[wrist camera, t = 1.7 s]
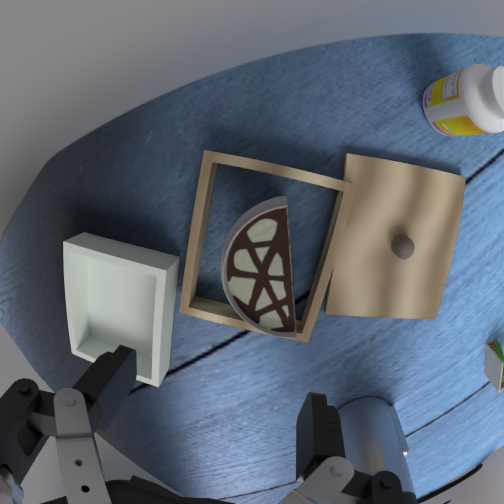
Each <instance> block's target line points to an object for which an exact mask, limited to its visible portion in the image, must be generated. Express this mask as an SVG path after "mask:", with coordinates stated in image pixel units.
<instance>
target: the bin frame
mask: <svg viewBox="0 0 504 504" xmlns="http://www.w3.org/2000/svg"><path fill="white" fill-rule="evenodd" d="M218 163H221V164H226V165H231V166H236V167H241V168H246V169H251V170H256V171H261V172H265V173H270V174H274V175H279V176H283V177H287V178H292V179H296V180H300V181H304V182H308V183H312V184H316V185H320V186H324V187H328V188H332V189H335V190H338V194H337V198H336V202H335V206H334V209H333V213H332V217H331V221H330V225H329V228H328V232H327V236H326V239H325V243H324V247H323V250H322V254H321V257H320V261H319V264H318V267H317V271H316V274H315V278H314V281H313V284H312V287H311V291H310V294H309V297H308V300H307V304H306V307H305V310H304V313H303V316H302V319H301V321H300V320H296V338H287V339H292V340H297V341H302V342H307V343H308V341H309V338H310V336H311V333H312V330H313V327H314V324H315V322H316V319H317V316H318V313H319V310H320V307H321V304H322V301H323V298H324V295H325V292H326V289H327V286H328V282H329V279H330V276H331V273H332V270H333V266H334V263H335V260H336V257H337V253H338V250H339V246H340V243H341V239H342V236H343V232H344V229H345V225H346V222H347V218H348V214H349V210H350V207H351V203H352V199H353V195H354V191H355V187H356V184H353V183H350V182H346V181H343V180H339V179H336V178H332V177H328V176H324V175H320V174H316V173H312V172H308V171H304V170H300V169H296V168H292V167H288V166H283V165H279V164H274V163H270V162H265V161H261V160H256V159H251V158H246V157H241V156H236V155H230V154H225V153H220V152H214V151H207V150H204V155H203V160H202V165H201V171H200V176H199V182H198V187H197V193H196V199H195V205H194V211H193V217H192V223H191V229H190V236H189V242H188V249H187V256H186V263H185V271H184V278H183V286H182V294H181V303H180V312H179V313H183V314H187V315H190V316H194V317H198V318H202V319H205V320H209V321H213V322H217V323H221V324H225V325H229V326H233V327H238V328H242V329H246V330H250V331H255V332H259V333H264V332H261V331H259V330H257V329H256V328H254V327H252V326H251V325H249V324H248V323H247V322H246V321H245V320H243V319H242V318H241V317H240V316H239V314H238V313H237V312H236V311H235V310H234V308H233V307H232V305H229V304H225V303H221V302H217V301H213V300H209V299H205V298H201V297H197V296H196V291H197V284H198V277H199V271H200V264H201V258H202V252H203V246H204V240H205V234H206V228H207V222H208V216H209V211H210V205H211V200H212V194H213V189H214V184H215V178H216V173H217V168H218ZM264 334H266V333H264ZM268 335H269V334H268Z"/></svg>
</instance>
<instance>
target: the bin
mask: <svg viewBox="0 0 504 504" xmlns="http://www.w3.org/2000/svg"><path fill="white" fill-rule="evenodd" d="M63 253H64V282H65V297H66V309H67V319H68V327H69V335H70V342H71V349H72V353H73V354H75V355H77V356H79V357H81V358H84V359H86V360H88V361H91V362H93V363H94V361H95V360H96V359H97V358H98V357H99V356H100V355H102V354H104V353H106V352H107V351H109V352H112V353H113V352H114V351H115V350H116V349H117V348H118V346H119V345H124V346H127V347H129V348H132V349H135V350H136V353H137V378H136V380H139V381H142V382H145V383H148V384H151V385H153V386H156V387H159V386H160V384H161V382H162V380H163V378H164V376H165V374H166V372H167V371H168V369H169V365H170V352H171V340H172V328H173V318H174V308H175V299H176V290H177V281H178V273H179V265H180V257H179V256H175V255H171V254H167V253H163V252H159V251H155V250H151V249H147V248H143V247H139V246H135V245H131V244H127V243H124V242H120V241H116V240H112V239H108V238H104V237H100V236H97V235H93V234H89V233H85V232H84V233H81V234H79V235H77V236H75V237H72V238H70V239H68V240H66V241H63Z"/></svg>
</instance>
